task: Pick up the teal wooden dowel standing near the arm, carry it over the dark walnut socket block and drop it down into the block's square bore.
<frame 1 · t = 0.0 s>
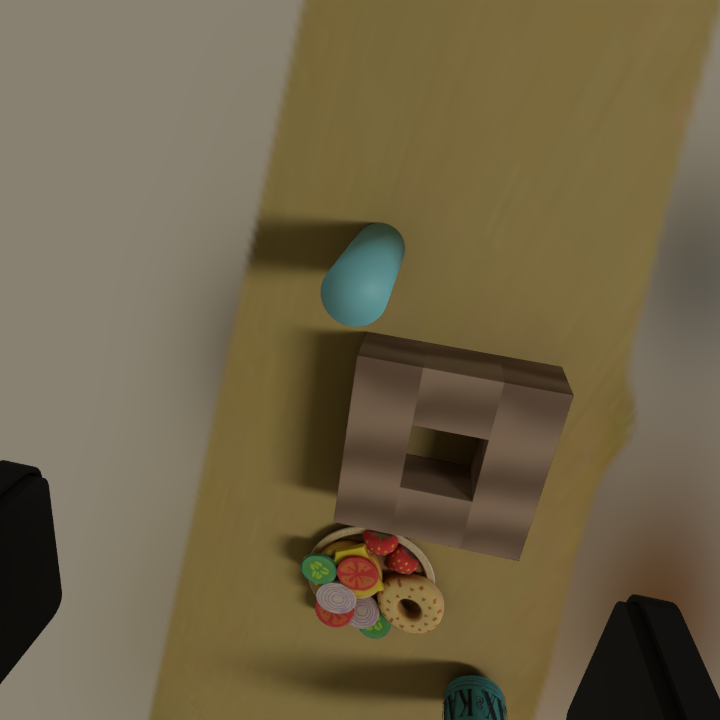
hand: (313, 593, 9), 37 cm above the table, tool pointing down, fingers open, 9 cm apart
peg: (379, 248, 44), on the table
beverage bottle: (472, 680, 62), on the table
socket block: (444, 432, 50), on the table
toy food set: (371, 570, 58), on the table
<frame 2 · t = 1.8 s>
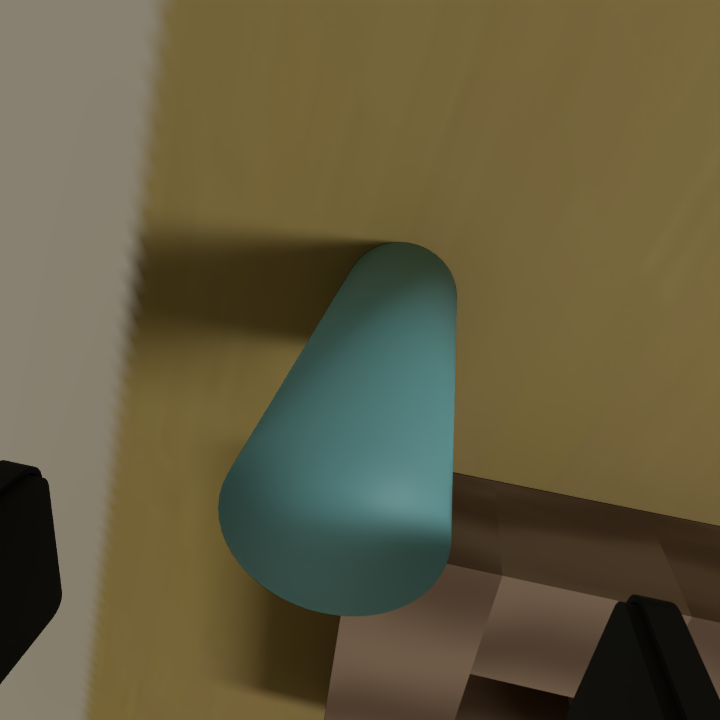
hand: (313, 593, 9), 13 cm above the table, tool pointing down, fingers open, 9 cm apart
peg: (400, 297, 20), on the table
socket block: (519, 630, 26), on the table
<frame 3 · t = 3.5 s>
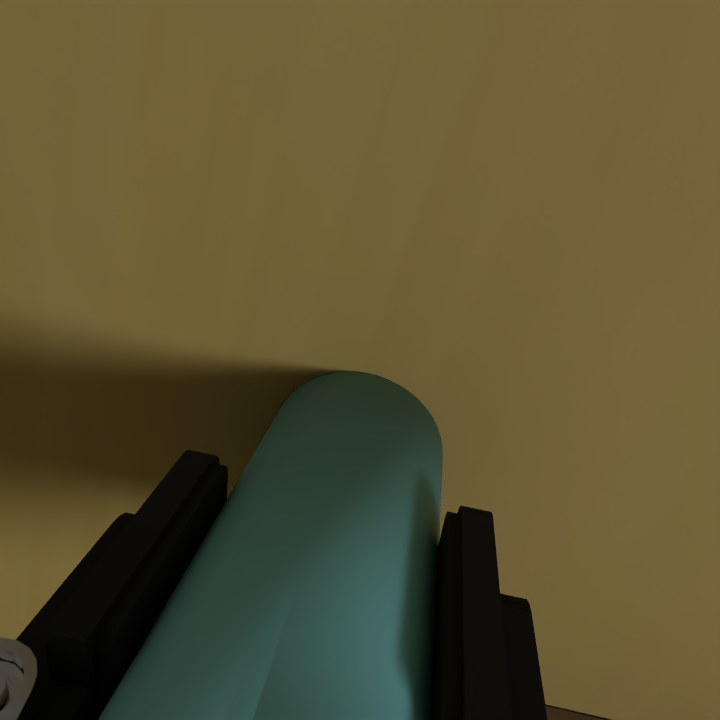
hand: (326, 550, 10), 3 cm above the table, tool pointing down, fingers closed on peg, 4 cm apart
peg: (355, 449, 13), on the table, touching gripper
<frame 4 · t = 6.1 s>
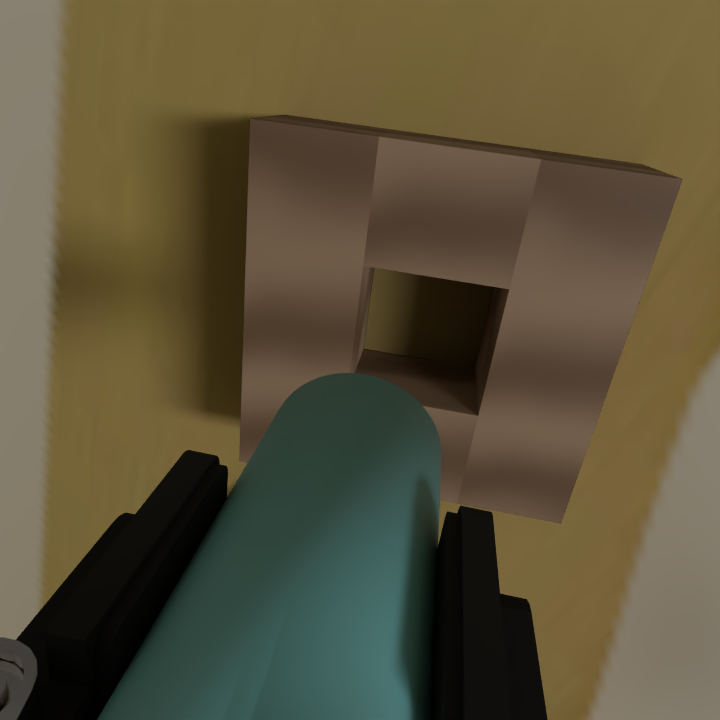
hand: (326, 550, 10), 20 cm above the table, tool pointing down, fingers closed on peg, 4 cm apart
peg: (354, 450, 13), point 17 cm above the table, touching gripper
socket block: (428, 305, 29), on the table
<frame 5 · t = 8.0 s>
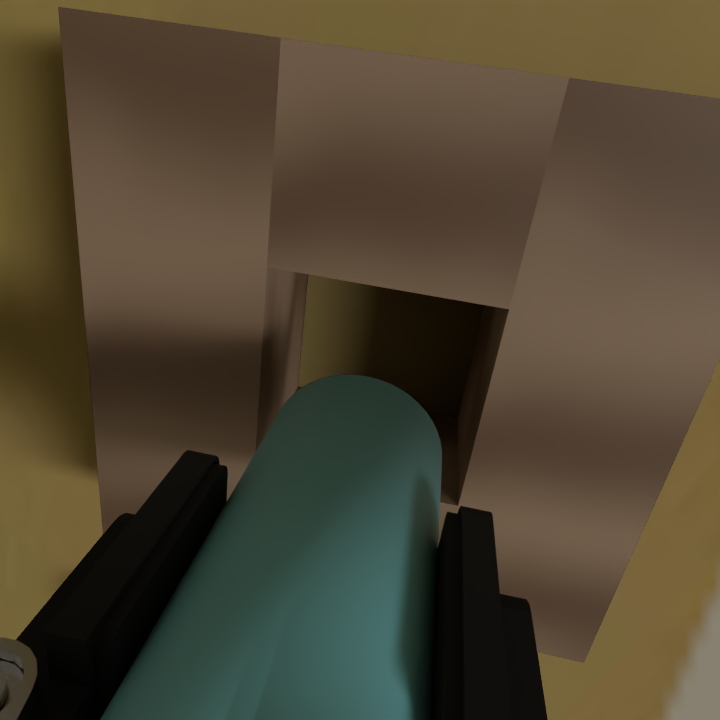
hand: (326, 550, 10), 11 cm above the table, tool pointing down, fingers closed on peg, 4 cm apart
peg: (355, 452, 13), point 7 cm above the table, touching gripper
socket block: (389, 327, 20), on the table
when the fingers open (6 cm above the table, at t = 9.2 s): peg drops 3 cm, resting in socket block.
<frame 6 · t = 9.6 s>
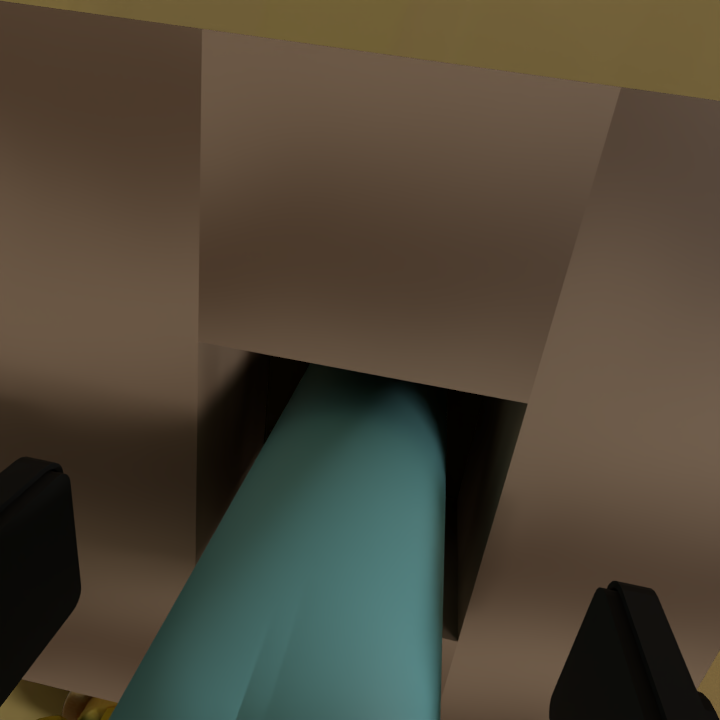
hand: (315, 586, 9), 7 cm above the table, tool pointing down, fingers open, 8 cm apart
peg: (375, 392, 16), resting in socket block
socket block: (372, 392, 16), on the table
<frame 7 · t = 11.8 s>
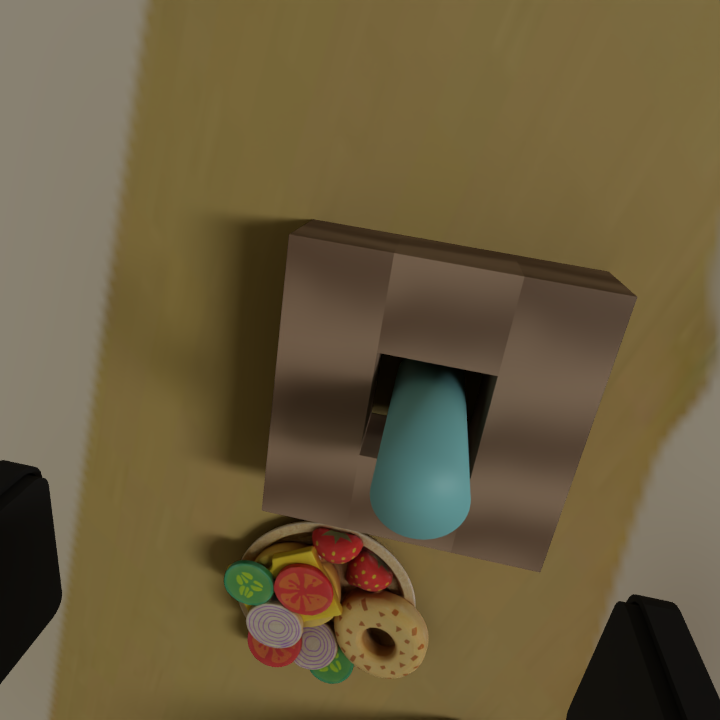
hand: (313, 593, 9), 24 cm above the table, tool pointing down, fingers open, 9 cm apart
peg: (430, 378, 34), resting in socket block
socket block: (428, 378, 34), on the table
toy food set: (327, 586, 41), on the table
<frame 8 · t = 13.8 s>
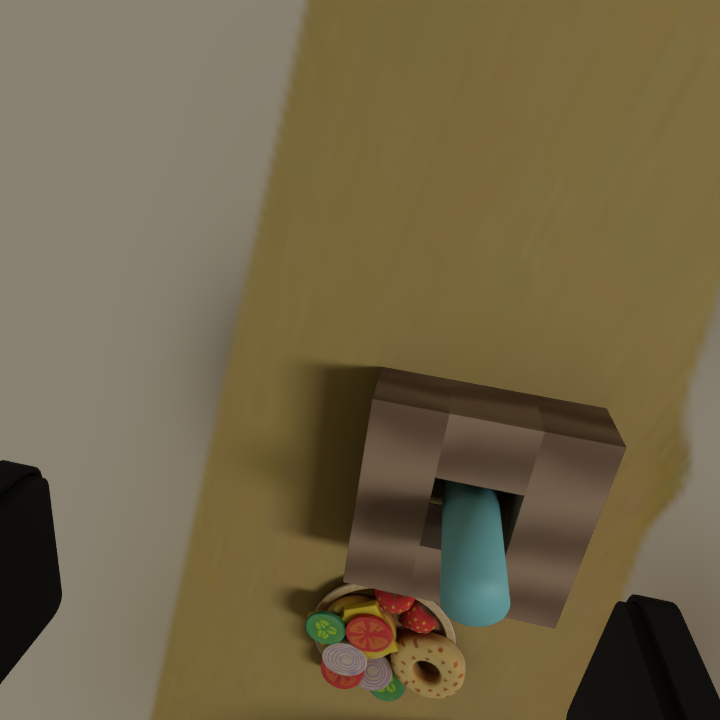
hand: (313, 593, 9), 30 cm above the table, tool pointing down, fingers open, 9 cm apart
peg: (469, 478, 44), resting in socket block
socket block: (468, 478, 44), on the table
toy food set: (383, 625, 52), on the table
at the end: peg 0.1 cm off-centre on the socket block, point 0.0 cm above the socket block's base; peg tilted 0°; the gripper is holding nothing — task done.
